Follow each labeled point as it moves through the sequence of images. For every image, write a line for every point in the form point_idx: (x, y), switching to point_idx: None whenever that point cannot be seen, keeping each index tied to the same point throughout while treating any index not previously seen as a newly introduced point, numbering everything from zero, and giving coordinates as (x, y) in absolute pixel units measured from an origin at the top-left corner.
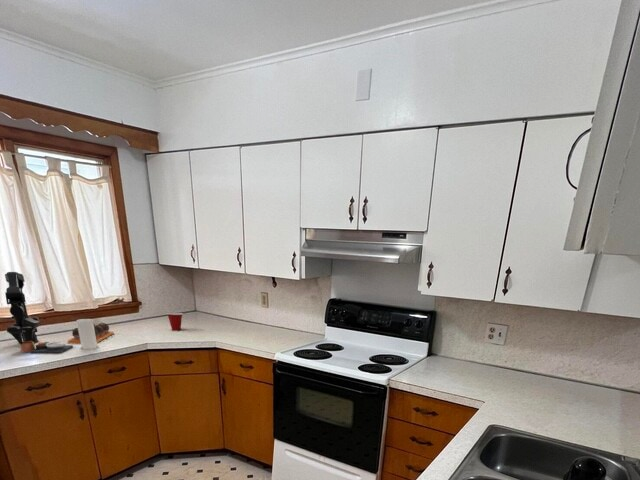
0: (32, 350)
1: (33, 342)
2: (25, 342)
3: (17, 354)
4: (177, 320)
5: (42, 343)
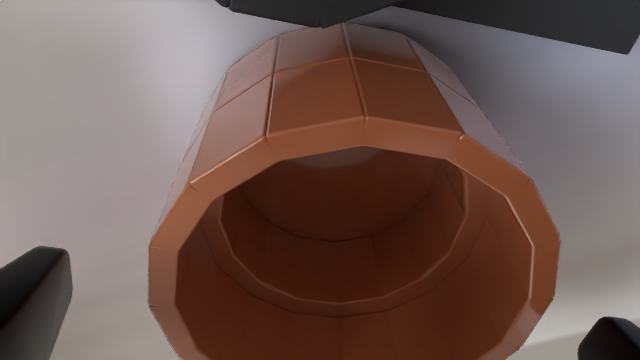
0: (603, 10)
1: (331, 111)
2: (214, 328)
3: (572, 238)
4: None
5: None
